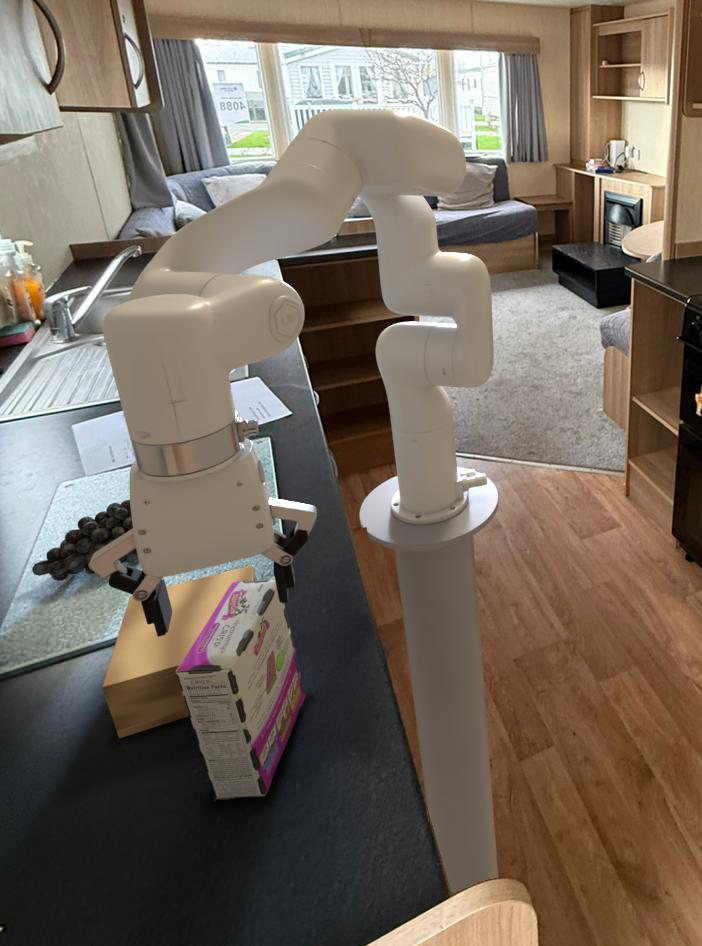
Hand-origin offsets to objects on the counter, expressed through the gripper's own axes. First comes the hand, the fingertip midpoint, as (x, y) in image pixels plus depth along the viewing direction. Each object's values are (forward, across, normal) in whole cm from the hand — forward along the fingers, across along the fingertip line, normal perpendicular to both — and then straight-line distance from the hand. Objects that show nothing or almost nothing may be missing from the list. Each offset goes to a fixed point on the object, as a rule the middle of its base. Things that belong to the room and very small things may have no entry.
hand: (226, 608), depth 60 cm
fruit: (+18, +21, -40) cm, 49 cm away
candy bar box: (+18, 0, 0) cm, 18 cm away
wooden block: (+18, +7, -14) cm, 24 cm away
